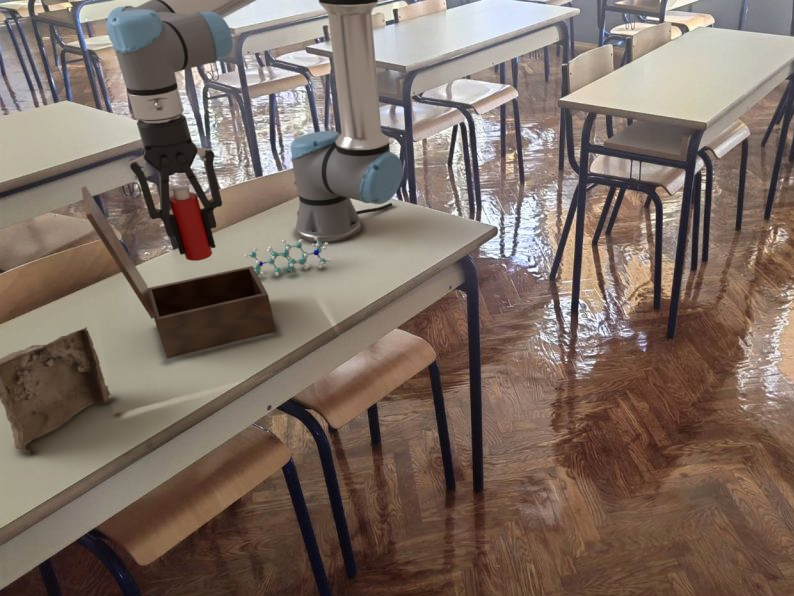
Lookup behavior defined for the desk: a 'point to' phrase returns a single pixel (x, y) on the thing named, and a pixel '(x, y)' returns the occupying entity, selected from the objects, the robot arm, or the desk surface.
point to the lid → (117, 251)
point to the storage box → (211, 311)
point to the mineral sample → (50, 385)
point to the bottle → (190, 224)
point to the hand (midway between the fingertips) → (196, 247)
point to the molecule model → (291, 261)
